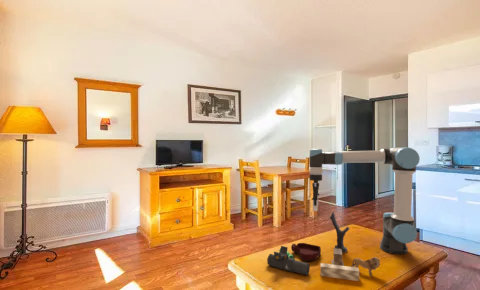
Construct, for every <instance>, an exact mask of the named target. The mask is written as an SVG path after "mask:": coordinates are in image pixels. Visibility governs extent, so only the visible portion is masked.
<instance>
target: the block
mask: <svg viewBox="0 0 480 290" xmlns="http://www.w3.org/2000/svg"><path fill="white" fill-rule="evenodd" d="M320 276H321V277H328V278H334V279H335V278H336V279H341V280H347V281H348V280H349V281H355V282H360V270H359V267H358V268H356V266H354V267H353V266H352V267H351V266H346V265H344V266H340V265H332V263H331V264H330V263H322V262H320Z"/></svg>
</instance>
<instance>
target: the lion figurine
mask: <svg viewBox="0 0 480 290" xmlns="http://www.w3.org/2000/svg"><path fill="white" fill-rule="evenodd" d="M380 261H381V260H380V258H378V257H377V256H374V257H371V258H369V259H366V260H363V259H362V258H360V257H356V258H353V260H352V264H351V265H350V267H356V268H358V269H359V266H360V267H362V268H364V269H367V270H368V275H369V277H373V272H372V271H375V270H376V269H377V268H379V267H380V266H381V263H380Z"/></svg>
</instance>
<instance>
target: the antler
mask: <svg viewBox="0 0 480 290" xmlns="http://www.w3.org/2000/svg"><path fill="white" fill-rule="evenodd" d="M329 219H330V221H331V222H332V225H333V227H334V229H335V232H336V245H334V248H337V249H341V250H342V254H344V253H347V252H348V248H347V247H346V246H344V236H345V235H346V233H347V232H348V231H349V230H350V227H348V226H346V228H345V229H343V230H341V228H340V226H339V224H338V222H337V219H336V215H335V212H334V211H332V212H331V215H330V216H329Z"/></svg>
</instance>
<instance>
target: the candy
mask: <svg viewBox="0 0 480 290" xmlns="http://www.w3.org/2000/svg"><path fill="white" fill-rule="evenodd" d="M280 249H281V247H280V248H279V250H278V253H279V252H280ZM287 254H289V258H293V259H295V258H296V257H295V256H294V255H293V254H291V252H289V251H288V250H287Z"/></svg>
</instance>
